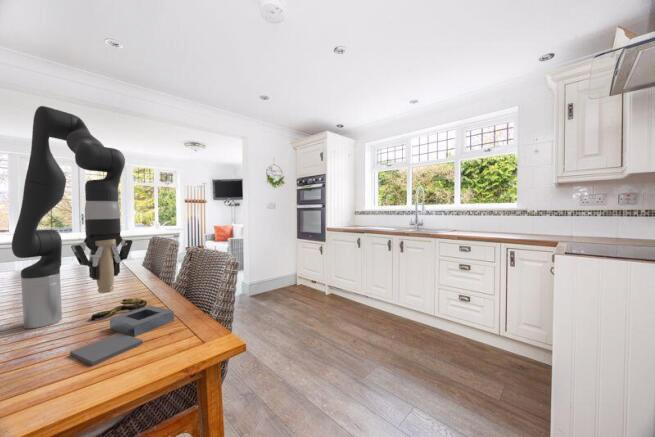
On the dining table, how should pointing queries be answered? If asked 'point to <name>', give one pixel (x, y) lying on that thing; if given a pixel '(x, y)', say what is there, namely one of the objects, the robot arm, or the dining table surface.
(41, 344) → the dining table surface
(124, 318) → the holder
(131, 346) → the mat
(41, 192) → the robot arm
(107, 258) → the handle
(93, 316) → the toy snake
